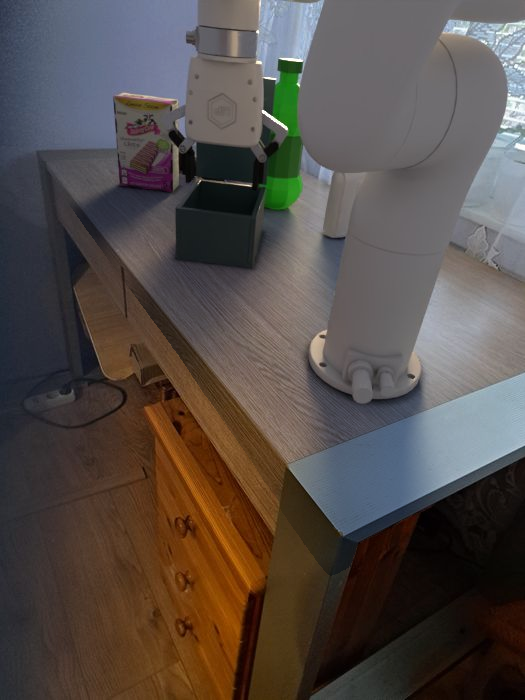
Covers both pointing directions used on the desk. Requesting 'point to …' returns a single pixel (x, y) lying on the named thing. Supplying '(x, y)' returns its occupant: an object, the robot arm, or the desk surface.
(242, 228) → the dark green open box
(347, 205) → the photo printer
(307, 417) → the desk surface
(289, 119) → the plastic bottle
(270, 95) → the lid
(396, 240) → the robot arm
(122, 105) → the candy bar box
